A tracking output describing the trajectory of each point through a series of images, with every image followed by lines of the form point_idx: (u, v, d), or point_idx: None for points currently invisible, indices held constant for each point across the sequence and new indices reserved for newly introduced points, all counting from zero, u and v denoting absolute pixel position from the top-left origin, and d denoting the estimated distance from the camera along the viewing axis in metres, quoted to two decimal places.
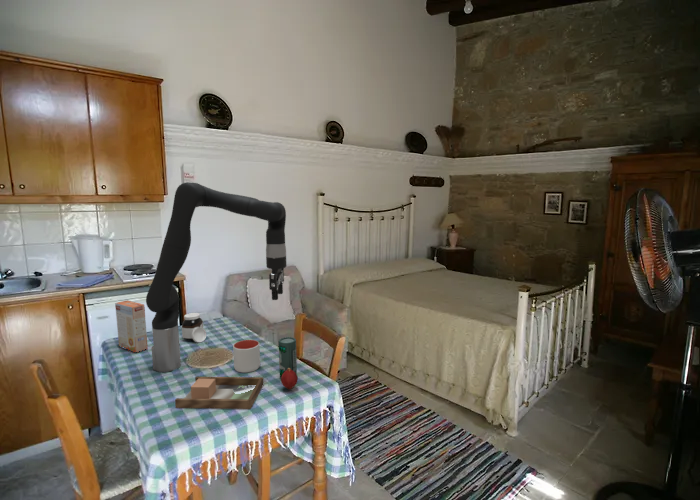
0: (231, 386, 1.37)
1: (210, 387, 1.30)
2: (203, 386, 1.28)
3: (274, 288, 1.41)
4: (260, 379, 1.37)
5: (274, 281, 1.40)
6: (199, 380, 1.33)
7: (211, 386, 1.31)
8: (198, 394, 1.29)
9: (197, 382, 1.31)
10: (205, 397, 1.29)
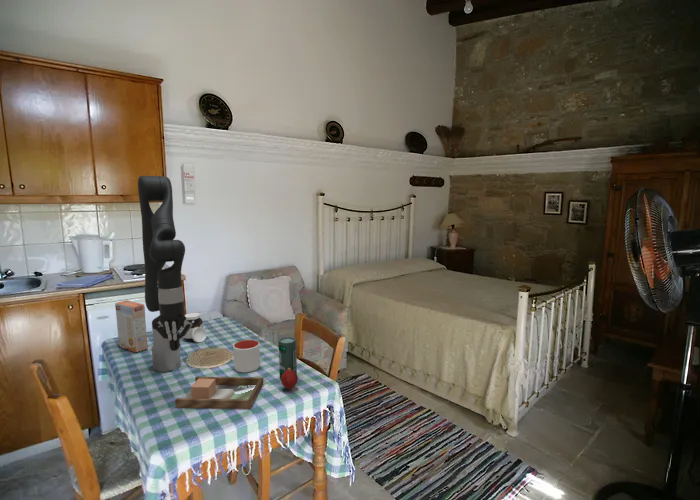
0: (231, 386, 1.37)
1: (210, 387, 1.30)
2: (203, 386, 1.28)
3: (183, 335, 1.30)
4: (260, 379, 1.37)
5: (188, 330, 1.29)
6: (199, 380, 1.33)
7: (211, 386, 1.31)
8: (198, 394, 1.29)
9: (197, 382, 1.31)
10: (205, 397, 1.29)
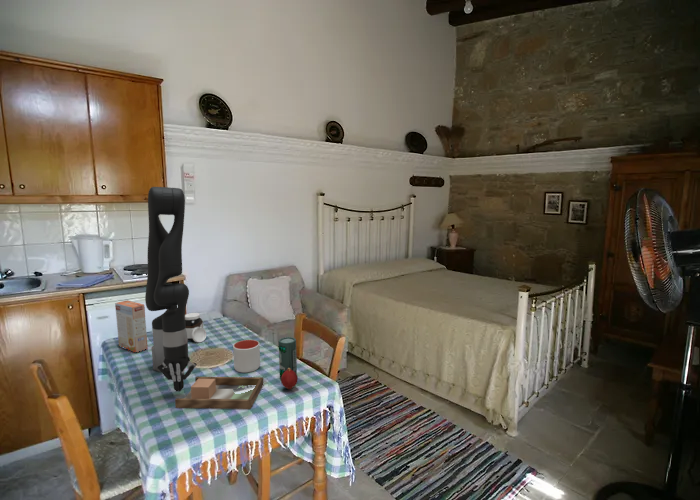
0: (231, 386, 1.37)
1: (210, 387, 1.30)
2: (203, 386, 1.28)
3: (187, 376, 1.32)
4: (260, 379, 1.37)
5: None
6: (199, 380, 1.33)
7: (211, 386, 1.31)
8: (198, 394, 1.29)
9: (197, 382, 1.31)
10: (205, 397, 1.29)
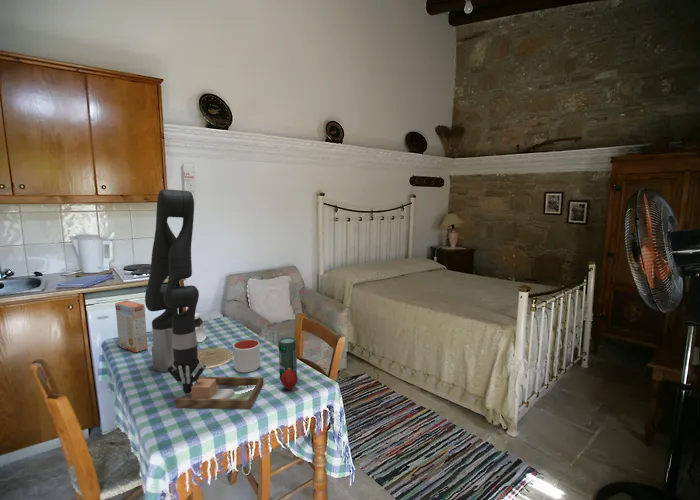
0: (231, 386, 1.37)
1: (211, 387, 1.30)
2: (203, 386, 1.28)
3: (196, 378, 1.32)
4: (260, 379, 1.37)
5: None
6: (199, 380, 1.33)
7: (211, 386, 1.31)
8: (199, 394, 1.29)
9: (198, 382, 1.31)
10: (205, 397, 1.29)
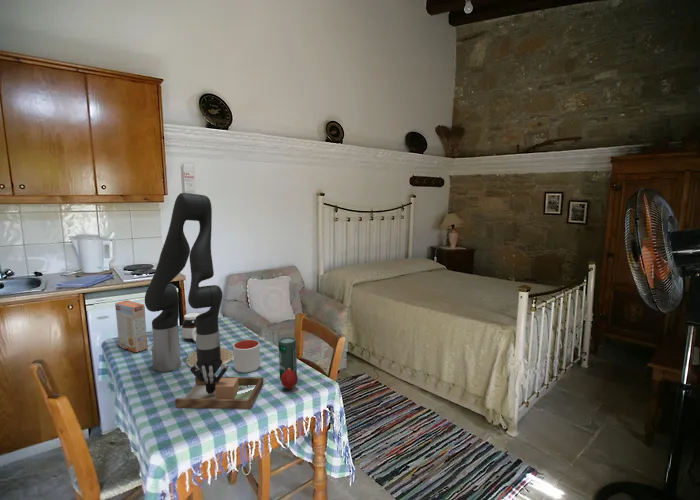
0: None
1: (235, 386, 1.31)
2: (228, 386, 1.29)
3: None
4: (260, 379, 1.37)
5: None
6: (222, 380, 1.33)
7: (235, 385, 1.31)
8: (223, 393, 1.29)
9: (221, 382, 1.31)
10: (230, 396, 1.29)
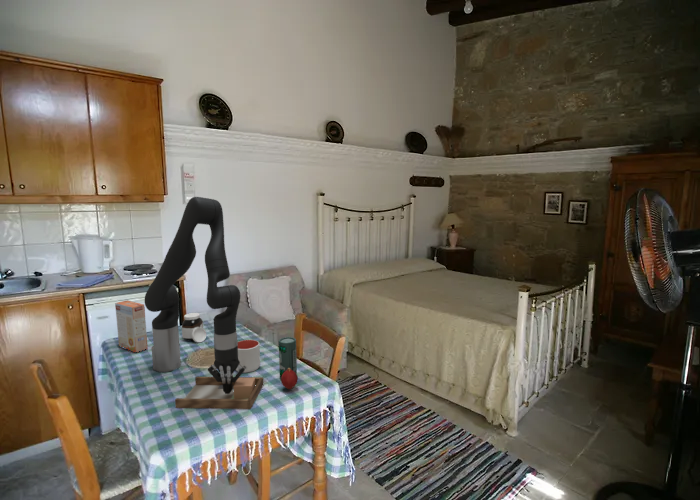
0: None
1: (252, 386, 1.31)
2: (246, 385, 1.29)
3: None
4: (260, 379, 1.37)
5: None
6: (239, 379, 1.33)
7: (253, 385, 1.32)
8: (241, 393, 1.29)
9: (239, 382, 1.32)
10: (248, 396, 1.29)
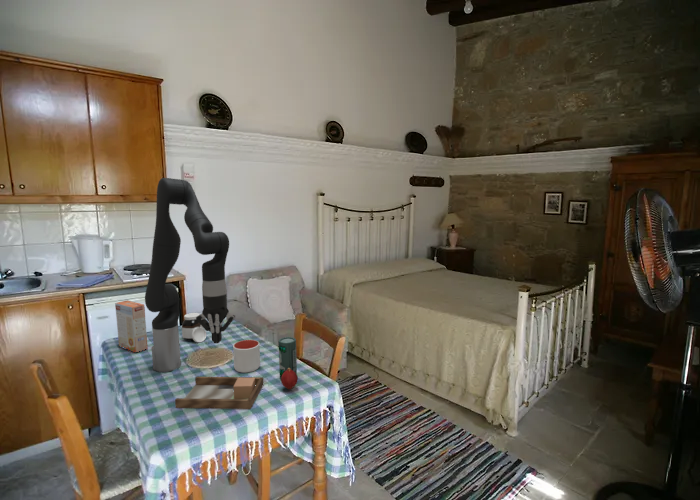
0: (231, 386, 1.37)
1: (252, 386, 1.31)
2: (246, 385, 1.29)
3: (225, 328, 1.29)
4: (260, 379, 1.37)
5: None
6: (239, 379, 1.33)
7: (253, 385, 1.32)
8: (241, 393, 1.29)
9: (239, 382, 1.32)
10: (248, 396, 1.29)
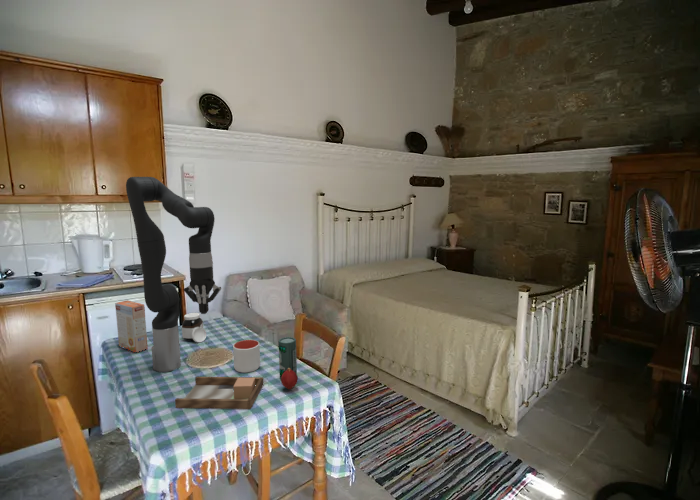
0: (231, 386, 1.37)
1: (252, 386, 1.31)
2: (246, 385, 1.29)
3: None
4: (260, 379, 1.37)
5: (216, 294, 1.35)
6: (239, 379, 1.33)
7: (253, 385, 1.32)
8: (241, 393, 1.29)
9: (239, 382, 1.32)
10: (248, 396, 1.29)
